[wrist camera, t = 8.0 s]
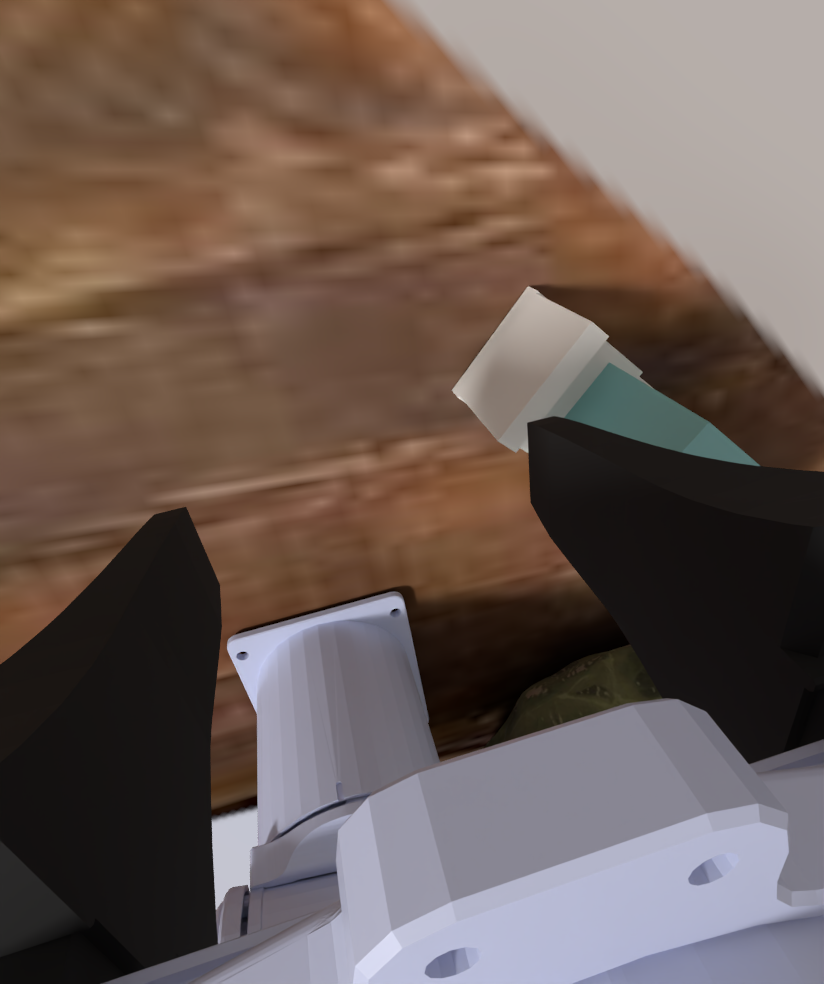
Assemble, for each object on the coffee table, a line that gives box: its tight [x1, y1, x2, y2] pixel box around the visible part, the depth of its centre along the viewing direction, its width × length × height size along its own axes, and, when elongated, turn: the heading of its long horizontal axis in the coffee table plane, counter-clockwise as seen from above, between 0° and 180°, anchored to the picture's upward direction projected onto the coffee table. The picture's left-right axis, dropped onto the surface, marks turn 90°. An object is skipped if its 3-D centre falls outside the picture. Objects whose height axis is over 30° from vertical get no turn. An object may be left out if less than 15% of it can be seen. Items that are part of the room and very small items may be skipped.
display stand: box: [452, 286, 654, 453], centre depth 22 cm, size 12×5×5 cm, turn 54°
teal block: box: [564, 362, 760, 466], centre depth 20 cm, size 9×4×5 cm, turn 54°
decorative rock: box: [483, 645, 662, 749], centre depth 30 cm, size 15×16×10 cm
